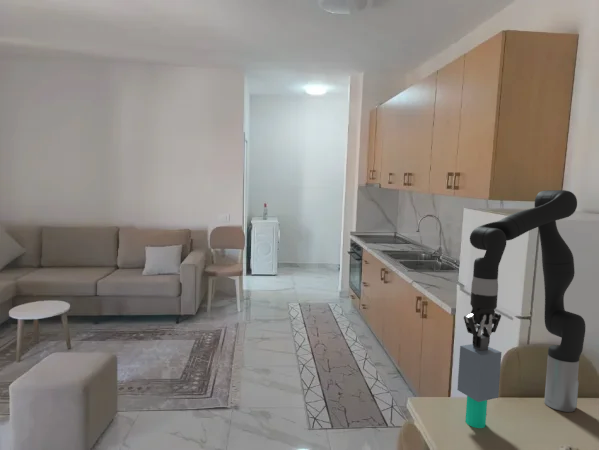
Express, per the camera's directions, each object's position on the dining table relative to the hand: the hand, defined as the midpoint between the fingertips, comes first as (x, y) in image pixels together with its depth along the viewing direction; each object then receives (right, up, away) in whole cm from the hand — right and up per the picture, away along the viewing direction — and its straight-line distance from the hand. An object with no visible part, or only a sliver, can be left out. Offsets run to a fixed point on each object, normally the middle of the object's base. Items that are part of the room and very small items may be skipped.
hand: (480, 346), depth 132 cm
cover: (0, -15, +1) cm, 15 cm away
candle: (-1, -25, +2) cm, 25 cm away
